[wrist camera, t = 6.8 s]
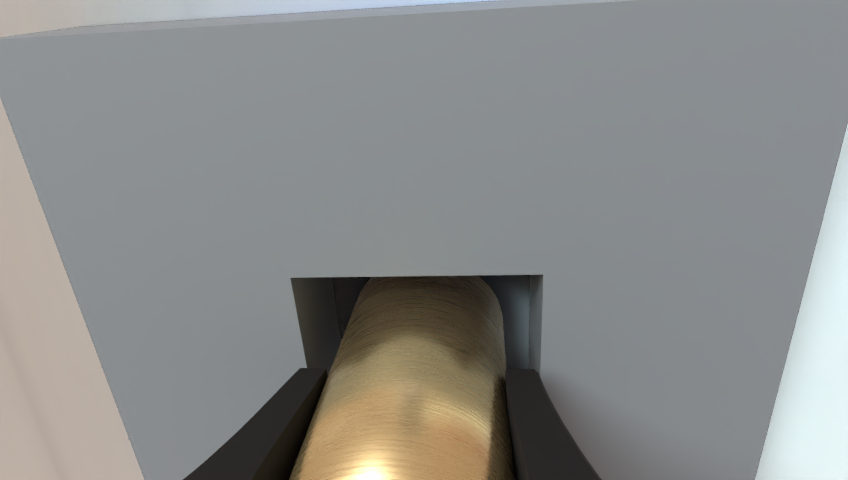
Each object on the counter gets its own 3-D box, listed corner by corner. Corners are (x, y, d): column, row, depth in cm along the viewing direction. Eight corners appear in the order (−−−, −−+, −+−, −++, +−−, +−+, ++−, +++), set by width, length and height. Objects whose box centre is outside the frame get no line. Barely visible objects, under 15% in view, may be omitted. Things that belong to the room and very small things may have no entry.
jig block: (790, -18, 12) (883, -15, 9) (686, 514, 19) (721, 606, 16) (79, 26, 13) (-22, 40, 11) (222, 500, 20) (182, 581, 18)
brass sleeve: (507, 259, 14) (538, 558, 7) (499, 386, 16) (516, 735, 9) (349, 254, 14) (219, 533, 7) (358, 379, 16) (260, 708, 9)
